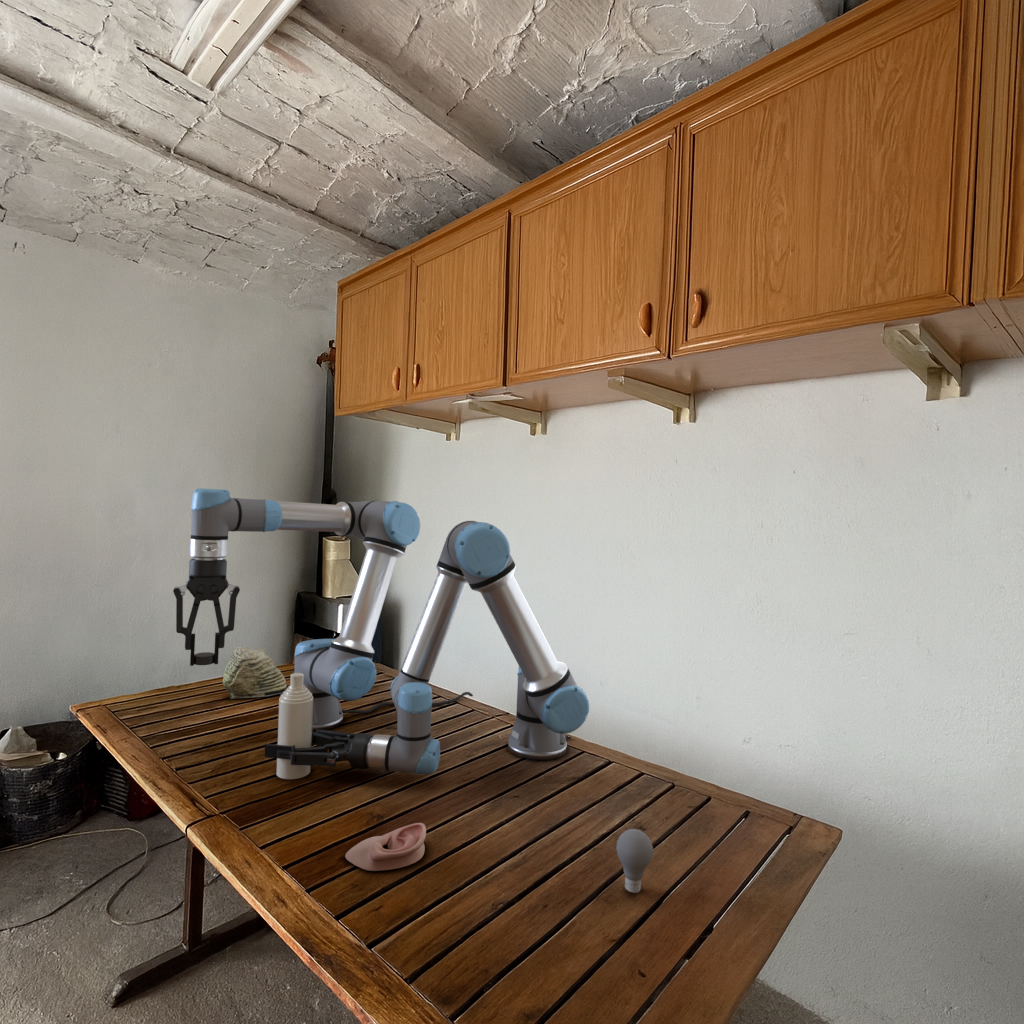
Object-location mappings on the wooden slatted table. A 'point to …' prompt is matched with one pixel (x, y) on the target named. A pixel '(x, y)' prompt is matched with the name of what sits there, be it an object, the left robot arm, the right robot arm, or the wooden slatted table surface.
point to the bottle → (294, 725)
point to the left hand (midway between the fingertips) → (204, 663)
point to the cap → (204, 658)
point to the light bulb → (634, 857)
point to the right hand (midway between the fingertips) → (274, 743)
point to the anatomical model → (390, 849)
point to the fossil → (252, 674)
